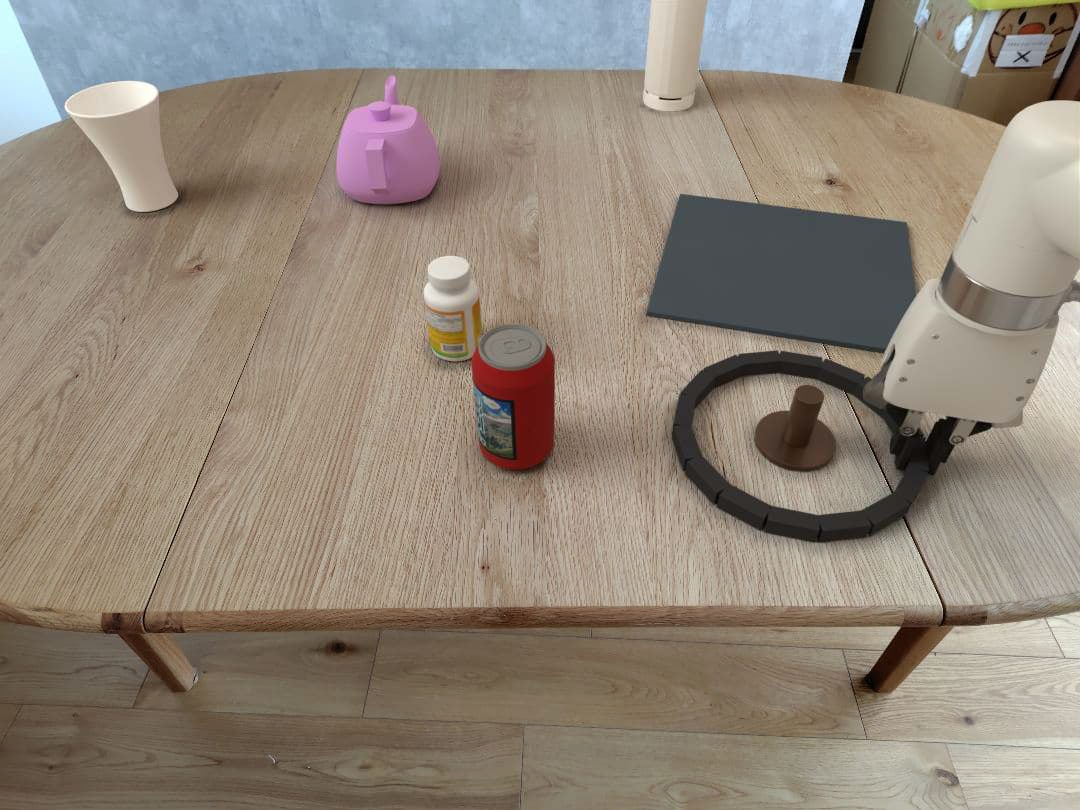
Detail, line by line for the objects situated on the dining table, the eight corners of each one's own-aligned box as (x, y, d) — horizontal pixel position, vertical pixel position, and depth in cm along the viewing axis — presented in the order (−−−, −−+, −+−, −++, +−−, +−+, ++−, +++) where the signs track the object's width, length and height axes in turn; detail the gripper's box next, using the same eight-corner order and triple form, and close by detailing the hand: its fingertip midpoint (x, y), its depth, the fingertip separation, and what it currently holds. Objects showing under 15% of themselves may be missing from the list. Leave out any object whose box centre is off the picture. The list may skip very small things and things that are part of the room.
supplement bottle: (463, 323, 82) (455, 244, 75) (493, 347, 79) (488, 268, 72) (420, 343, 79) (408, 264, 73) (450, 370, 76) (440, 290, 70)
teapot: (447, 149, 111) (439, 70, 103) (436, 221, 97) (426, 137, 89) (354, 150, 111) (340, 72, 103) (329, 223, 97) (310, 138, 89)
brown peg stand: (834, 422, 71) (852, 374, 67) (834, 478, 66) (853, 430, 62) (757, 409, 72) (770, 360, 68) (751, 463, 67) (765, 414, 63)
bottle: (669, 116, 118) (694, -97, 99) (631, 100, 123) (648, -107, 103) (704, 101, 122) (734, -107, 102) (666, 86, 126) (688, -116, 107)
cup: (146, 175, 106) (107, 76, 96) (210, 187, 103) (176, 86, 94) (91, 212, 99) (43, 109, 89) (158, 226, 96) (116, 122, 87)
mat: (905, 226, 95) (906, 221, 95) (922, 359, 77) (924, 354, 77) (679, 197, 100) (680, 193, 100) (646, 315, 83) (646, 311, 82)
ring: (912, 384, 74) (917, 372, 73) (931, 567, 60) (939, 555, 58) (689, 347, 79) (691, 335, 78) (655, 509, 64) (657, 497, 63)
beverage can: (469, 431, 70) (459, 329, 62) (538, 412, 72) (537, 310, 64) (492, 484, 66) (484, 381, 57) (565, 463, 68) (568, 360, 59)
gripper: (1110, 274, 55) (1003, 447, 68) (880, 243, 58) (820, 415, 71) (1138, 338, 50) (1017, 512, 63) (884, 301, 53) (818, 474, 66)
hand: (913, 459), depth 67 cm, fingers closed
